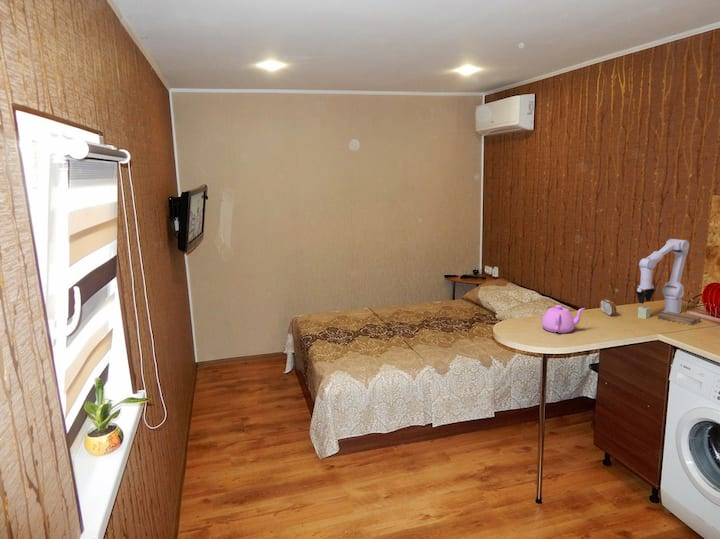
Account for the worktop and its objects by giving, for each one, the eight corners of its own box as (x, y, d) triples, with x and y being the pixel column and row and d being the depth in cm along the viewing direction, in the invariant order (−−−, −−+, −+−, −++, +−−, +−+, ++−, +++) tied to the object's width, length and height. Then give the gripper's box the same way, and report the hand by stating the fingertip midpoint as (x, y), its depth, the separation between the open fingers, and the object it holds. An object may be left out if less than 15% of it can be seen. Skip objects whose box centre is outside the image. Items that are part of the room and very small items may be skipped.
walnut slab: (667, 316, 279) (667, 311, 278) (700, 322, 264) (700, 317, 264) (657, 319, 273) (657, 314, 272) (690, 326, 259) (690, 321, 258)
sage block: (641, 316, 280) (642, 306, 279) (649, 317, 276) (650, 307, 275) (637, 317, 277) (638, 307, 276) (645, 319, 274) (646, 308, 273)
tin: (616, 317, 279) (617, 303, 278) (611, 317, 279) (611, 303, 278) (604, 310, 294) (604, 297, 292) (599, 310, 294) (599, 297, 292)
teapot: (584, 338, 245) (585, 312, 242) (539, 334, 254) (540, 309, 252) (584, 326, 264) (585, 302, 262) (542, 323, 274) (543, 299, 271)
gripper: (645, 276, 280) (643, 298, 282) (632, 280, 272) (631, 302, 274) (658, 278, 274) (656, 301, 276) (645, 281, 266) (643, 305, 269)
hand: (644, 302), depth 275 cm, fingers open, 7 cm apart
